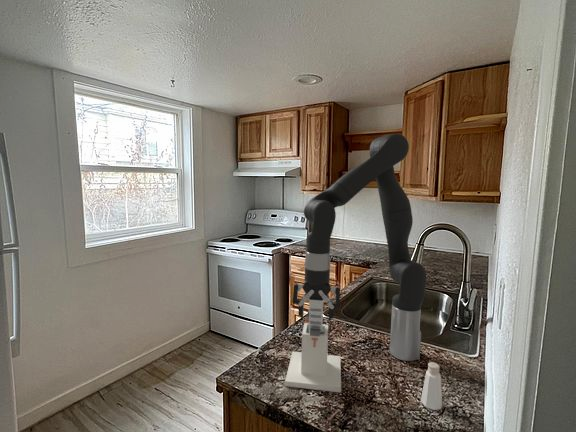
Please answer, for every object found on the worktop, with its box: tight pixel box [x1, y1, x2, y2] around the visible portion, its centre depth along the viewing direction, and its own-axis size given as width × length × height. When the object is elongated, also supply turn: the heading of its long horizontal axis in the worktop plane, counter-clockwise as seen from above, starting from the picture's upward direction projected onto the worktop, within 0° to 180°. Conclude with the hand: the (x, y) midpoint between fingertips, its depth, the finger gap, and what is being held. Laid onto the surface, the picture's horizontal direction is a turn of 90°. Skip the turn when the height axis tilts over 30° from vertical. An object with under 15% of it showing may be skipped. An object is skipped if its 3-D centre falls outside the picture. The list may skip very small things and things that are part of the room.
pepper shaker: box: [420, 361, 443, 411], centre depth 81 cm, size 5×5×11 cm
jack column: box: [308, 298, 324, 334], centre depth 93 cm, size 4×4×22 cm
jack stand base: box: [284, 322, 342, 393], centre depth 94 cm, size 16×16×15 cm
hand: (315, 318), depth 93 cm, fingers open, 8 cm apart
